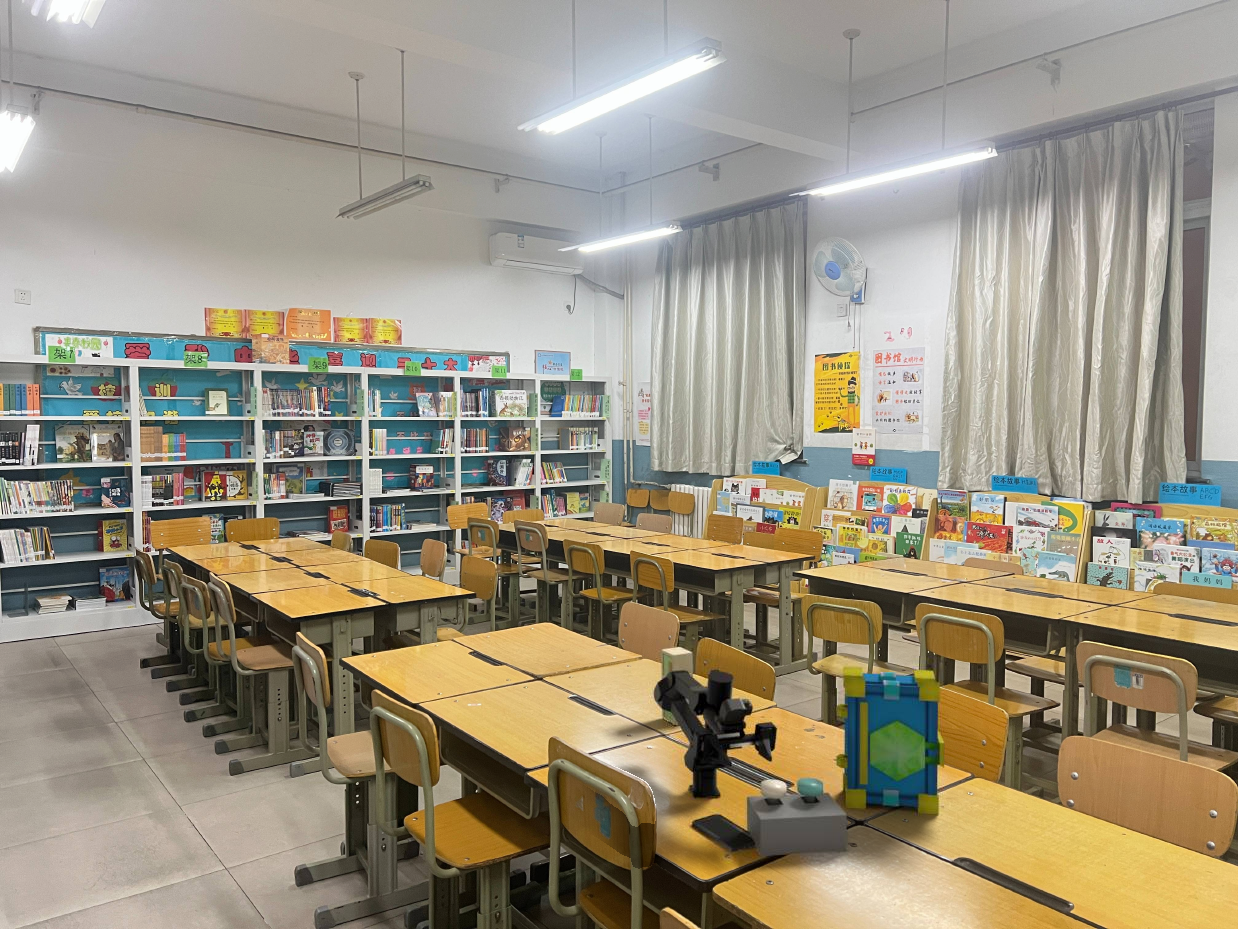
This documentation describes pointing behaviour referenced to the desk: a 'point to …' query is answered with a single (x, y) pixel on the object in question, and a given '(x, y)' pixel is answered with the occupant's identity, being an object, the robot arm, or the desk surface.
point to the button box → (796, 825)
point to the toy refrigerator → (675, 669)
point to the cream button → (773, 790)
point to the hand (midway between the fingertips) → (751, 762)
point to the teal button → (810, 788)
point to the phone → (724, 832)
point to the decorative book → (891, 739)
